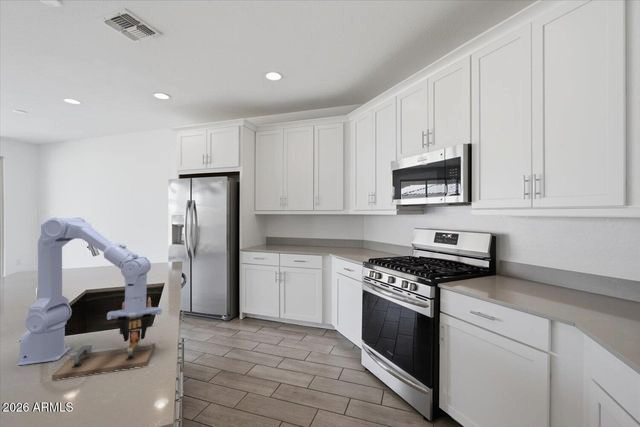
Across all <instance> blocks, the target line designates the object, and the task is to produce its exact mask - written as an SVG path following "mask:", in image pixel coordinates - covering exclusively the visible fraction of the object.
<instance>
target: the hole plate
mask: <svg viewBox="0 0 640 427" xmlns="http://www.w3.org/2000/svg"><path fill="white" fill-rule="evenodd" d="M151 343H152V348H151V350H144V351H136V352H133V357H132V358H130V359H128V353H121V354H114V355H106V356H99V357H91V358H83V359H80V363H79V366H78V367H74V360H69V359H67V360H66V361H65V362H64V364H62V365H61V366H60V367H59V368H58V369H57V370H56V371H55V372H54V373H53V374H51V381H52V380H55V381H58V380H57V379H62V378H69V377H75V378H77V377H76V376H82V375H89V374H95V373H102V372H109V373H111V372H110V371H115V370H122V369H128V370H131V369H130V368H135V367H142V368H144V367H143V366H148V364H149V362H150V360H151V358H152V356H151V355H153V354H154V351H155V350H156V342H154V343H153V342H151ZM152 353H153V354H152ZM150 357H151V358H150ZM135 369H136V368H135ZM122 371H123V370H122ZM115 372H116V371H115ZM102 374H103V373H102ZM95 375H96V374H95ZM89 376H90V375H89ZM82 377H83V376H82ZM69 379H70V378H69ZM62 380H63V379H62Z"/></svg>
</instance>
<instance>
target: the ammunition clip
mask: <svg viewBox="0 0 640 427" xmlns="http://www.w3.org/2000/svg"><path fill="white" fill-rule="evenodd" d="M146 307H152V300H151V297H150V296H148V298H147V303H146ZM124 309H125V301H123V302H122V305H121V310H124ZM142 317H143V316H134V317H130V321H129V333H130V331H131V330H133V329H140V330H141V318H142ZM150 327H153V316H152V317H151V319H150V321H149V324H148V326H147V328H150ZM119 334H120V335H123V334H122V331H121V329H120V328H119Z"/></svg>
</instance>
